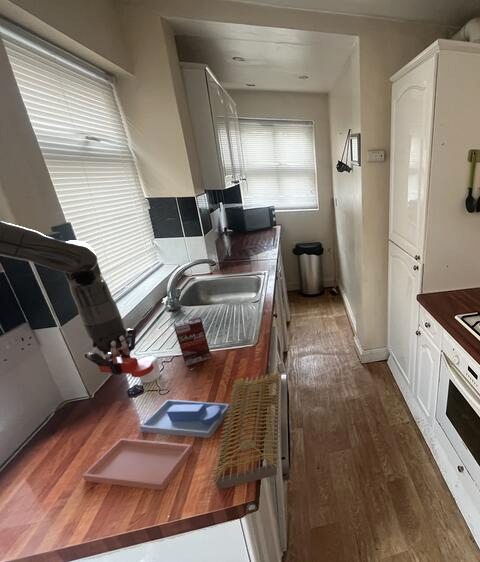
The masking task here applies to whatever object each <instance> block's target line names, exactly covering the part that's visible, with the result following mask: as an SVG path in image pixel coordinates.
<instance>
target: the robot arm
mask: <svg viewBox="0 0 480 562" xmlns="http://www.w3.org/2000/svg"><path fill="white" fill-rule="evenodd" d="M0 256H1V257H5V258H10V259H14V260H20V261H25V262H31V263H33V264H36V265H39V266H43V267H46V268H49V269H52V270H55V271H58V272H63V275H64V276H65V278H66V280H67V282H68V285H69V290H70V293H71V296H72V298H73V301H74V303H75V305H76V307H77V311H78V315H79V317H80V320H81V322H82V324H83V326H84V329H85V331H86V334H87V336H88V337H89V339H91V341H92V349H91V350H90V352H86V353H85V354H84V358H85V359H87V360H89V361H90V362H92V363H93V364H95V365H97V367H98V366H106V367H109V368H110V370H111V372H112V373H111V374H112V375H116V376H117V375H118V376H121V375H122V374H124V373H123V372H122V369H121V367H120V364H119V362H118V360H117V357H118V355H119V357H124V358H132V356H131V352H132V351H134V350H135V347H136V338H137V337H136V335H137V330H136V329H135V328H125V323H124V321H123V318H122V315H121V313H120V310H119V307H118V305H117V303H116V301H115V299H114V298H113V296H112V293H111V290H110V288H109V285H108V283H107V282H106V280H105V279H104V277H103V274H102V271H101V268H100V265H99V262H98V256H97V254H96V252H95V251H94V248H92V246H90V244H88V243H86V242H84V241H79V240H68V241H65V240H61V239H57V238H53V237H50V236H46V235H44V234H43V233H41V232H39V231H37V230H33V229H30V228H26V227H23V226H19V225H15V224H12V223H9V222H8V223H7V222H5V221H0ZM103 357H104V358H105V359H104V358H103Z"/></svg>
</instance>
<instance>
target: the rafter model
mask: <svg viewBox="0 0 480 562" xmlns="http://www.w3.org/2000/svg"><path fill="white" fill-rule="evenodd" d="M280 384H281V370H279V371H275V372H273V373H271V374H270V375H269V374H268V375H263V374H261V376H259V377H258V375H257V376H256V377H254V376H252V377H251V378H249V377H248V376H247V377H246V379H244V378H243V377H242V378H241V380H239V379H233V384H232V387H231V388H232V389H231V392H230V395H229V397H230V398H229V400H230V401H228V404H230V405H228V406H231V407H230V408H228V409H230V411H228V412H226V413H228V414H227V416H225V418H226V419H224V420H223V422H225V423H223V427H222V428H221V429H222V430H223V429H225V430H223V431H221V434H223V435H221V436H220V438H223V439H220V440H219V443H221V442H222V443H221V444H218V445H217V447H221V448H219V449H217V450H216V451H217V452H220V453H219V454H218V453H217V454H216V455H215V456H216V457H218V458H216V459H215V460H214V462H217V461H218V462H217V463H215V464H214V465H213V467H216V468H215V469H212V472H211V475H214V474H215V475H214V476H212V477H211V478H210V481H211V482H210V483H209V486H211V485H212V484H213V483H214V485H216V488H217V491H221V490H224V489H228V488H232V487H235V486H236V487H237V486H239V485H244V484H247V483H252V482H255V481H256V482H257V481H260V480H262V479H267V478H270V477H274V476H278V468H279V466H278V464H279V461H278V458H279V455H280V454H279V453H278V451H280V449H279V448H278V447H279V446H280V444H279V443H278V442H280V439H279V438H280V436H279V433H280V431H279V429H280V427H279V425H280V423H279V421H280V419H279V417H280V415H279V414H280V413H281V411H280V410H281V408H280V406H281V404H280V402H281V401H280V399H281V398H280V396H281V394H280V393H281V391H280ZM256 395H257V396H256ZM228 409H227V410H228ZM266 409H267V410H266ZM236 415H238V416H236ZM227 417H228V418H227ZM236 419H237V420H236ZM265 420H267V421H265ZM235 423H236V424H235ZM265 424H267V425H266V426H265ZM224 425H226V426H224ZM234 427H235V428H234ZM265 429H266V430H265ZM234 431H235V432H234ZM264 433H265V434H264ZM258 434H259V435H258ZM261 434H262V435H261ZM233 436H234V437H233ZM264 437H265V438H264ZM260 438H262V439H260ZM272 439H273V440H272ZM232 440H233V441H232ZM257 443H259V444H257ZM261 443H262V444H261ZM231 445H232V446H231ZM263 446H264V447H263ZM265 446H266V447H265ZM237 447H238V448H237ZM230 450H231V451H230ZM246 450H251V451H246ZM240 451H241V452H240ZM244 451H245V452H244ZM261 451H264V452H261ZM255 452H256V453H255ZM230 454H231V455H230ZM247 455H250V456H247ZM240 456H241V457H240ZM244 456H245V457H244ZM234 459H235V460H234ZM261 460H265V465H263V466H261ZM257 461H258V467H257V468H254V462H257ZM249 463H251V469H247V464H249ZM241 465H244V471H240V466H241ZM235 466H237V472H235V473H233V469H234V467H235ZM229 468H230V471H229V474H228V475H225V474H226V470H228V469H229Z"/></svg>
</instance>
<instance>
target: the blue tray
mask: <svg viewBox="0 0 480 562" xmlns="http://www.w3.org/2000/svg"><path fill="white" fill-rule="evenodd" d="M194 404H204V406H205V408H208V407H210V406H214V405H216V406H219V408H220V410H221V416H220V418H219V419H218V420H216V421H215V422H213V423H211V424H208V425H204V424H202V423H201V421H171V420H170V418H169V416H168V414H167V412H166V411H167V410H168V409H169V408H170V407H171V406H172V405H194ZM230 404H231V403H223V402H211V401H210V402H209V401H197V400H182V399H171V398H170V399H169V398H168V399H166V400H165V401H164V402H162V404H161V405H160V406H159V407H158V408H157V410H155V411H154V412H153V413H152V414H151V415H150V416H149V417H148V418H147V419H146V420H145V421H143V423H142V424H141V425H140V426H139V428H140V430H141V432H142V433H147V434H148V433H149V434H160V435H171V436H180V437H181V436H183V437H191V438H192V437H193V438H202V439H211V438H212V436H213V435H214V434H215V432H216V431H217V429H218V428H219V426H221V424H222V422H224V420H225V418H226V417H225V416H227V415H229V413H226V412H228V411H230V409H228V408H230V407H231V406H228V405H230ZM227 409H228V410H227Z"/></svg>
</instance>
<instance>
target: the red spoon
mask: <svg viewBox="0 0 480 562" xmlns="http://www.w3.org/2000/svg"><path fill="white" fill-rule="evenodd" d="M102 357H103V356H102ZM103 358H104V357H103ZM104 359H105V358H104ZM137 359H138V358H137V357H131V358H124V357H120V356H117V360H118V362H119V364H120V367H121V369H122V372H123V373H122V374H128V375H130V376H131V377H132V378H139V377H141V376H144V375H147V374H149V373H150V372H151V371H152V370H153V369H154V367H153V364H152V362H151V361H141V362H139V363H138V361H137ZM97 367H98V369H99V371H100V373H110V374H113V373H112V372H111V370H110V368H109V367H106V366H98V365H97Z"/></svg>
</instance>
